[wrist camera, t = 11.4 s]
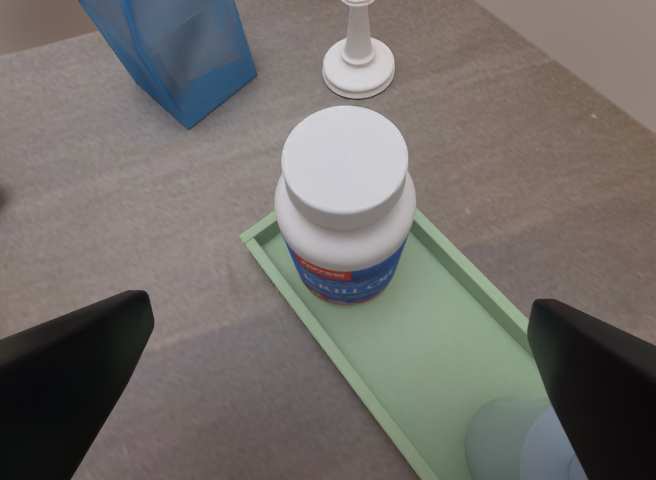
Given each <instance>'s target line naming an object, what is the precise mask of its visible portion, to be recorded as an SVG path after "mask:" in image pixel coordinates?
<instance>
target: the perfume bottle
mask: <svg viewBox="0 0 656 480" xmlns="http://www.w3.org/2000/svg"><path fill="white" fill-rule="evenodd" d="M78 1H79V3H80V4H81V5H82V7H83V8H84V10H85V11H86V13H87V14H88V15H89V17H90V18H91V20H92V21H93V23H94V24H95V25H96V27H97V28H98V30H99V31H100V32H101V34H102V35H103V37H104V38H105V40H106V41H107V42H108V44H109V45H110V47H111V48H112V49H113V51H114V52H115V54H116V55H117V57H118V58H119V59H120V61H121V62H122V64H123V65H124V67H125V68H126V69H127V71H128V72H129V74H130V75H131V76H132V78H133V79H134V81H135V82H136V83H137V84H138V85H139V86H140V87H141V88H142V89H144V90H145V91H146V92H147V93H148V94H149V95H150V96H151V97H152V98H154V99H155V100H156V101H157V102H158V103H159V104H160V105H161V106H162V107H163V108H165V109H166V110H167V111H168V112H169V113H170V114H171V115H172V116H173V117H175V118H176V119H177V120H178V121H179V122H180V123H181V124H182V125H183V126H185V127H186V128H187V129H188V130H189V129H190V128H191V127H193V126H194V125H195V124H196V123H198V122H199V121H200V120H201V119H203V118H204V117H205V116H206V115H208V114H209V113H210V112H211V111H213V110H214V109H215V108H216V107H218V106H219V105H220V104H221V103H223V102H224V101H225V100H226V99H228V98H229V97H230V96H231V95H233V94H234V93H235V92H237V91H238V90H239V89H240V88H242V87H243V86H244V85H245V84H247V83H248V82H249V81H250V80H252V79H253V78H254V77H255V76H257V72H256V69H255V66H254V63H253V59H252V56H251V53H250V50H249V46H248V43H247V40H246V37H245V34H244V30H243V27H242V24H241V21H240V17H239V14H238V11H237V8H236V5H235V1H234V0H78Z"/></svg>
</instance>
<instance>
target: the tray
mask: <svg viewBox="0 0 656 480" xmlns="http://www.w3.org/2000/svg"><path fill="white" fill-rule="evenodd" d="M239 238H240V239H241V241H242V242H243V243H244V245H245V246H246V247H247V249H248V250H249V251H250V253H251V254H252V255H253V257H254V258H255V259H256V261H257V262H258V263H259V265H260V266H261V267H262V269H263V270H264V271H265V273H266V274H267V275H268V277H269V278H270V279H271V281H272V282H273V283H274V285H275V286H276V287H277V289H278V290H279V291H280V293H281V294H282V295H283V297H284V298H285V299H286V301H287V302H288V303H289V305H290V306H291V307H292V309H293V310H294V311H295V313H296V314H297V315H298V317H299V318H300V319H301V321H302V322H303V323H304V325H305V326H306V327H307V329H308V330H309V331H310V332H311V334H312V335H313V336H314V338H315V339H316V340H317V342H318V343H319V344H320V346H321V347H322V348H323V350H324V351H325V352H326V354H327V355H328V356H329V358H330V359H331V360H332V362H333V363H334V364H335V366H336V367H337V368H338V370H339V371H340V372H341V374H342V375H343V376H344V378H345V379H346V380H347V382H348V383H349V384H350V386H351V387H352V388H353V390H354V391H355V392H356V394H357V395H358V396H359V398H360V399H361V400H362V402H363V403H364V404H365V406H366V407H367V408H368V410H369V411H370V412H371V414H372V415H373V416H374V418H375V419H376V420H377V422H378V423H379V424H380V426H381V427H382V428H383V430H384V431H385V432H386V434H387V435H388V436H389V438H390V439H391V440H392V442H393V443H394V444H395V445H396V447H397V448H398V449H399V451H400V452H401V453H402V455H403V456H404V457H405V459H406V460H407V461H408V463H409V464H410V465H411V467H412V468H413V469H414V471H415V472H416V473H417V475H418V476H419V477H420V479H421V480H473V478H472V476H471V473H470V471H469V468H468V464H467V460H466V455H465V438H466V433H467V429H468V426H469V424H470V422H471V420H472V418H473V416H474V415H475V413H476V412H477V411H478V410H479V409H480V408H481V407H482V406H483V405H485V404H486V403H487V402H489V401H491V400H493V399H496V398H499V397H503V396H543V395H547V393H546V390H545V387H544V384H543V382H542V379H541V376H540V373H539V370H538V368H537V365H536V362H535V359H534V356H533V354H532V351H531V348H530V345H529V342H528V339H527V328H528V323H529V320H528V319H527V318H526V317H525V316H524V315H523V314H522V313H521V312H520V311H519V310H518V309H517V308H516V307H515V306H514V305H513V304H512V303H511V302H510V301H509V300H508V299H507V298H506V297H505V296H504V295H503V294H502V293H501V292H500V291H499V290H498V289H497V288H496V287H495V286H494V285H493V284H492V283H491V282H490V281H489V280H488V279H487V278H486V277H485V276H484V275H483V274H482V273H481V272H480V271H479V270H478V269H477V268H476V267H475V266H474V265H473V264H472V263H471V262H470V261H469V260H468V259H467V258H466V257H465V256H464V255H463V254H462V253H461V252H460V251H459V250H458V249H457V248H456V247H455V246H454V245H453V244H452V243H451V242H450V241H449V240H448V239H447V238H446V237H445V236H444V235H443V234H442V233H441V232H440V231H439V230H438V229H437V228H436V227H435V226H434V225H433V224H432V223H431V222H430V221H429V220H428V219H427V218H426V217H425V216H424V215H423V214H422V213H421V212H420V211H419V210H418V209H417V208H416V209H415V216H414V219H413V223H412V226H411V229H410V232H409V235H408V238H407V241H406V243H405V246H404V249H403V251H402V254H401V257H400V259H399V262H398V265H397V268H396V271H395V273H394V276H393V278H392V279H391V281H390V283H389V284H388V286H387V287H386V288H385V289H384V290H383V291H382V292H381V293H380V294H379V295H378V296H376V297H375V298H373V299H371V300H369V301H367V302H365V303H362V304H358V305H350V306H343V305H336V304H332V303H329V302H326V301H324V300H322V299H320V298H318V297H317V296H315V295H314V294H313V293H312V292H311V291H310V290H309V289H308V288H307V287H306V286H305V284H304V283H303V281H302V280H301V278H300V276H299V274H298V272H297V269H296V267H295V264H294V262H293V260H292V257H291V255H290V253H289V250H288V248H287V245H286V243H285V241H284V238H283V236H282V234H281V231H280V228H279V226H278V222H277V219H276V215H275V210H274V211H273V212H271V213H270V214H268V215H267V216H266V217H264V218H263V219H261V220H260V221H259V222H257V223H256V224H254V225H253V226H251V227H250V228H249V229H247V230H246V231H244V232H243V233H242V234H240V235H239Z"/></svg>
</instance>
